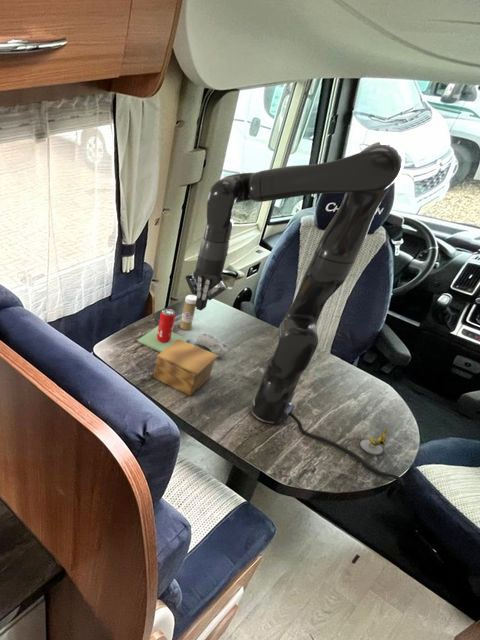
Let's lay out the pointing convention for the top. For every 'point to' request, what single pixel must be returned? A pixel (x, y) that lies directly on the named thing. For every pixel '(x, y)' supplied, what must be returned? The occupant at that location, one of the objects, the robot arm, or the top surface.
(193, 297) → the sprinkles bottle
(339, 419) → the top surface
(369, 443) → the figurine
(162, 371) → the chest
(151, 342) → the pad
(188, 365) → the chest lid
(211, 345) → the decorative stone
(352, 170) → the robot arm
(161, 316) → the beverage can
